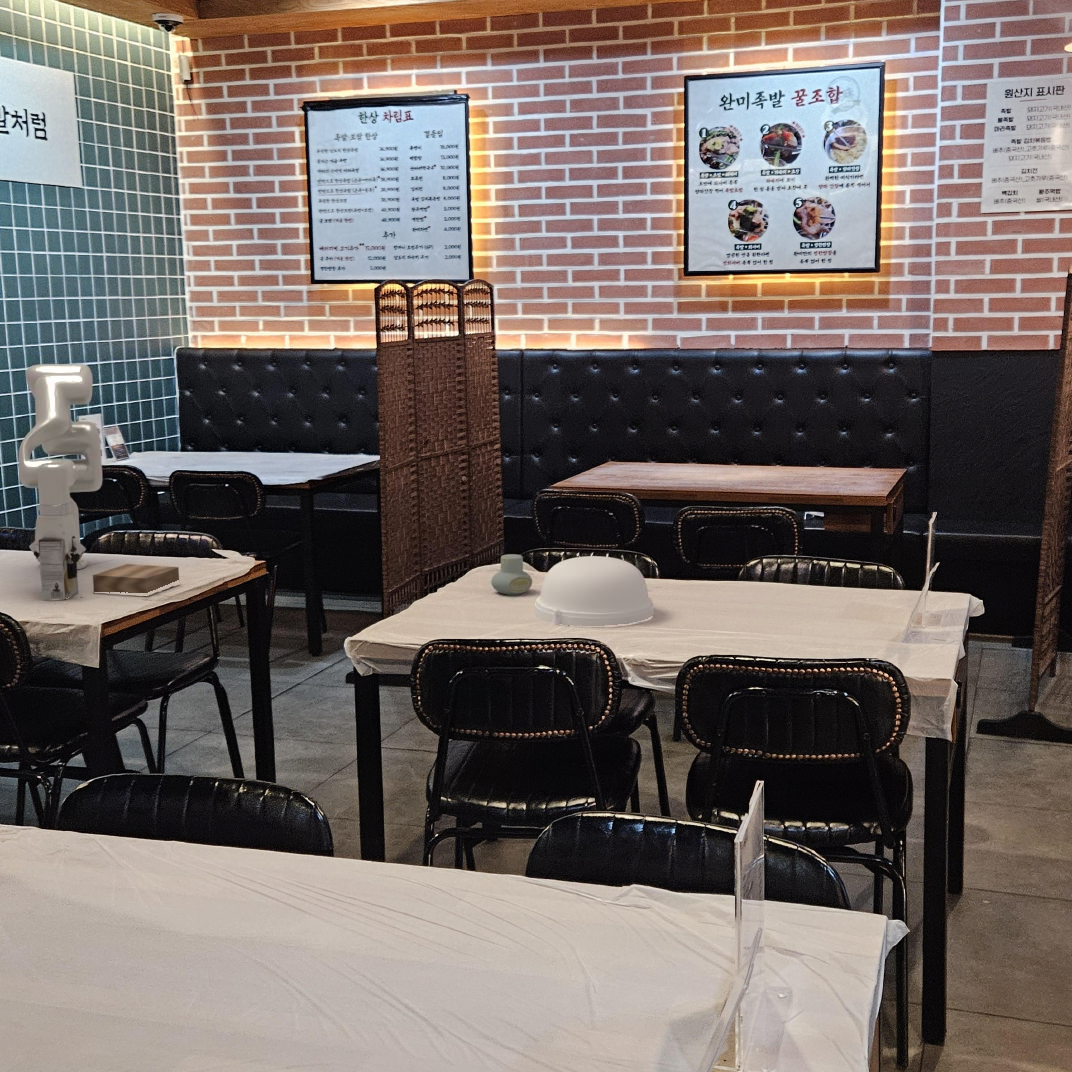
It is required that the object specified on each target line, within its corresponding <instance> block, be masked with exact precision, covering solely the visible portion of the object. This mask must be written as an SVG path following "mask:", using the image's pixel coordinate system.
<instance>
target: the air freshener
mask: <svg viewBox="0 0 1072 1072" xmlns="http://www.w3.org/2000/svg"><path fill="white" fill-rule="evenodd" d="M523 561H524V557H523V556H522V554H515V553H514V554H513V553H512V554H511V553H510V554H504V555H501V557H500V571H497V572H495V574H494V575H493V576H492V578H491V582H490V583H491V586H492V588H493V589H494V591H497V592H498V593H499V594H502V595H509V596H519V595H523V594H524V593H526V592H528V591H529V589H531V588H532V585H533V579H532V577H531V575H530V574H529V573H528V572H526V571H524V564H523V563H524V562H523Z"/></svg>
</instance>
